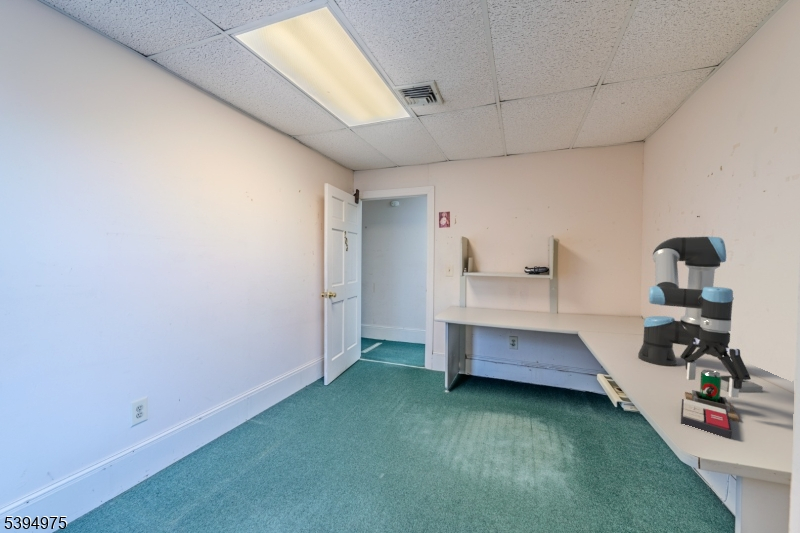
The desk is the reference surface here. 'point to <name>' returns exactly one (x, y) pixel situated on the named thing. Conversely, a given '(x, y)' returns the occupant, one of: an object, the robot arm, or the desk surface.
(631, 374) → the desk surface
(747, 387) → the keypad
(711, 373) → the soda can
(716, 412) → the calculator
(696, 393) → the can holder
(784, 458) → the desk surface
